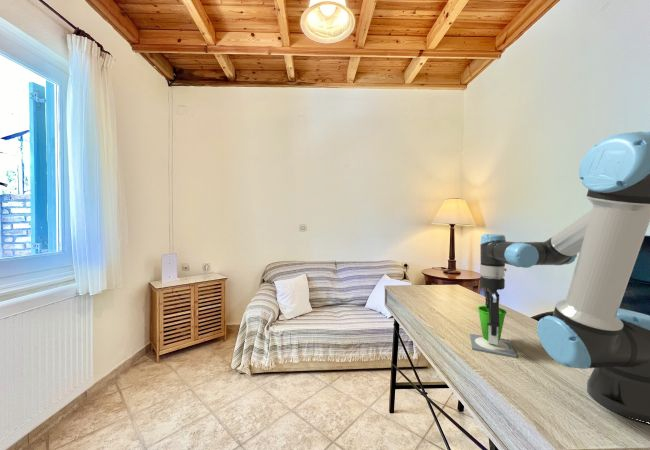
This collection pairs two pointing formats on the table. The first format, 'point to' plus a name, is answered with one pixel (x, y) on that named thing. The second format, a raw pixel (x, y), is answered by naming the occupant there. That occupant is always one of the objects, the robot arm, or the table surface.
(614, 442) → the table surface
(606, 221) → the robot arm
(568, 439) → the table surface
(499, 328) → the cup
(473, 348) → the coaster
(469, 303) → the table surface
